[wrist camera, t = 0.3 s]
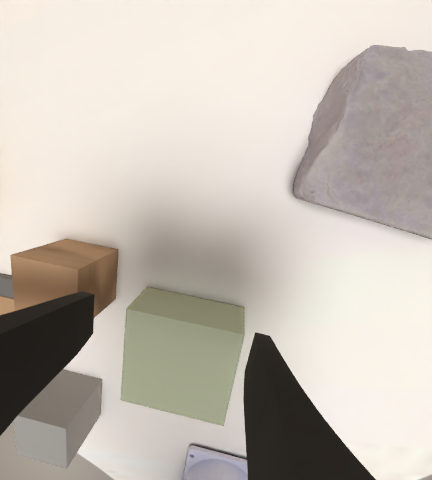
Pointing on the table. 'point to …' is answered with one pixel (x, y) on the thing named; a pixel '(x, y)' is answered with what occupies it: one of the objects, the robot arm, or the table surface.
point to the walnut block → (64, 273)
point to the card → (6, 294)
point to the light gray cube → (59, 419)
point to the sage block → (181, 354)
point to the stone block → (375, 141)
